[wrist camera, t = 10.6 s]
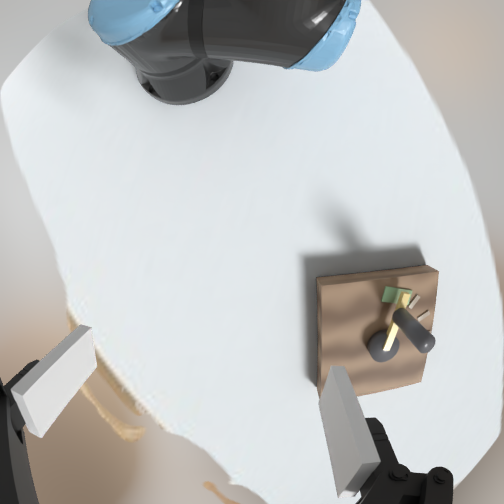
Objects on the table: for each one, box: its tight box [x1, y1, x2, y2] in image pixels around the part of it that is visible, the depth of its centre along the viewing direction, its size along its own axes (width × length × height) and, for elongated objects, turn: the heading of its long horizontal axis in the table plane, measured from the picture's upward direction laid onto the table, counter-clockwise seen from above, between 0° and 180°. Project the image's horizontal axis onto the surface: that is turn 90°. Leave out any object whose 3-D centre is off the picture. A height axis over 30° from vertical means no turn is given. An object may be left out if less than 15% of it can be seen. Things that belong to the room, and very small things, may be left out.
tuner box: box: [316, 265, 439, 399], centre depth 45 cm, size 22×20×4 cm
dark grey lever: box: [367, 291, 435, 362], centre depth 37 cm, size 5×12×11 cm, turn 169°
